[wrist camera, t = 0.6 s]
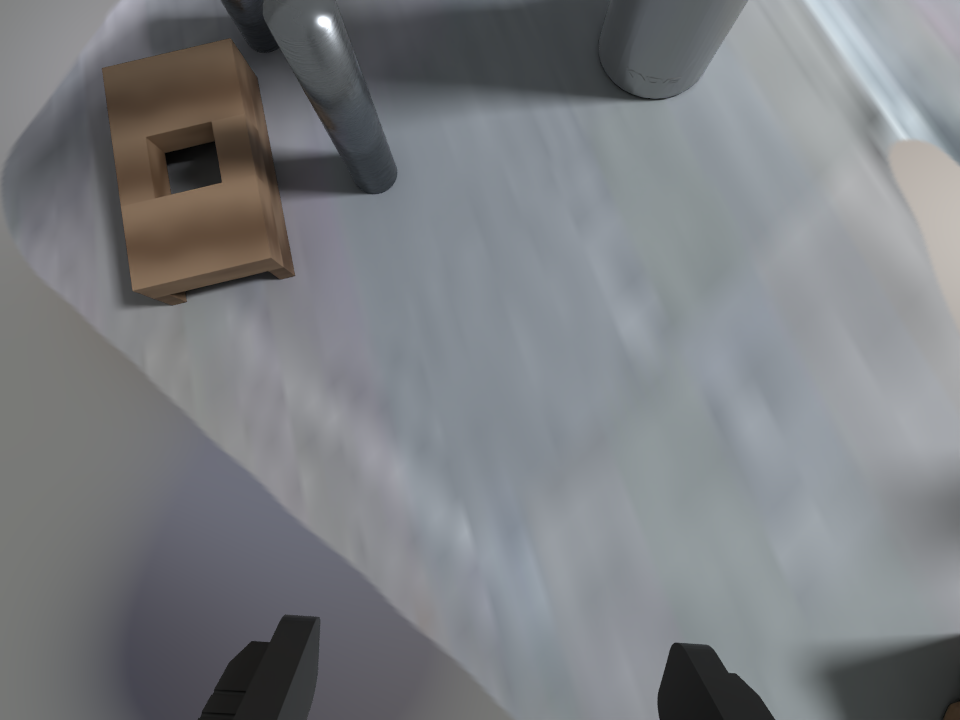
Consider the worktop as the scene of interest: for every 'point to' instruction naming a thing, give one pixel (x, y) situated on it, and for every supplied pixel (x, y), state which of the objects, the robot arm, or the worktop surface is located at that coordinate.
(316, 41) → the long pin
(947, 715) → the wooden block
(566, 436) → the worktop surface
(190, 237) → the plate
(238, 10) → the short pin
